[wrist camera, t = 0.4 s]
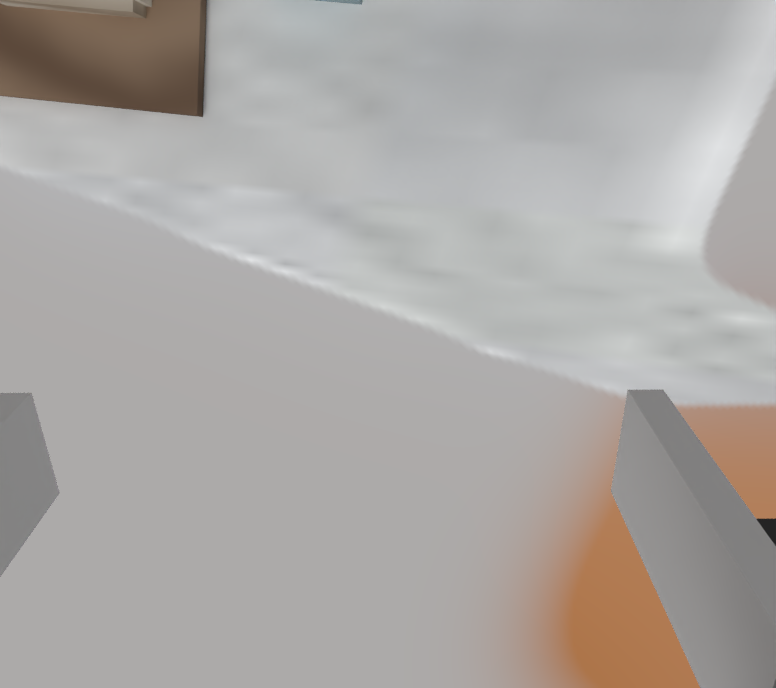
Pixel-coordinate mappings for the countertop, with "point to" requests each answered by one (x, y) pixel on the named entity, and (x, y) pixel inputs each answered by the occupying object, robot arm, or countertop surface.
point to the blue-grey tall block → (345, 1)
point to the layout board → (105, 53)
